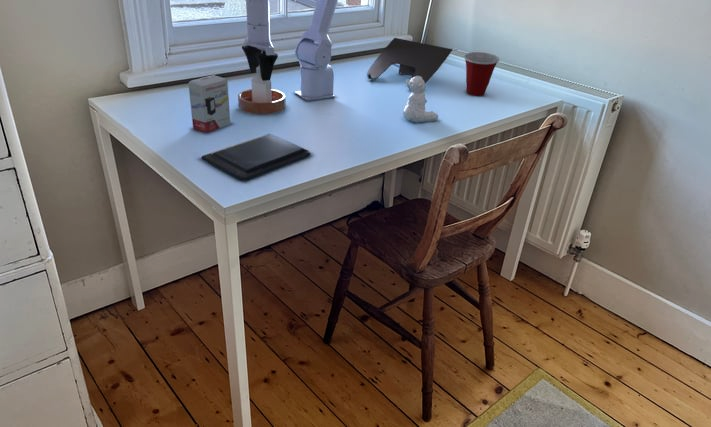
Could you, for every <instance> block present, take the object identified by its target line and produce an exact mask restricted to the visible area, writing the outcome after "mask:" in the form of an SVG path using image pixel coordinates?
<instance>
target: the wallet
mask: <svg viewBox="0 0 711 427" xmlns="http://www.w3.org/2000/svg"><path fill="white" fill-rule="evenodd" d="M310 156H311V152H310V150H309V149H307V148H304V147H302V146H300V145H297V144H295V143H292V142H290V141H288V140H285V139H283V138H281V137H278V136H277V135H274V134H271V133H268V134H265V135H262V136H261V135H260V136H258V137H255V138H251V139H249V140H245V141H243V142H239V143H237V144H234V145H230V146H227V147H224V148H221V149H218V150H214V151H212V152H210V153H206V154H203V155H201V160H203V161H204V162H206V163H208V164H209V165H211V166H212V167H215V168H216V169H219V171H222V172H223V173H226V174H228V175H229V176H231V177H233V178H234V179H237V180H239V181H244V182H247V181H251V180H252V179H255V178H258V177H260V176H262V175H265V174H267V173H270V172H273V171H275V170H277V169H279V168H282V167H285V166H288V165H291V164H293V163H295V162H299V161H301V160H304V159H306V158H308V157H310Z"/></svg>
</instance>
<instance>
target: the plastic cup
mask: <svg viewBox="0 0 711 427" xmlns="http://www.w3.org/2000/svg"><path fill="white" fill-rule="evenodd" d="M463 57H464V61H465V66H466V67H465V73H466V74H465V83H466V85H465V86H466V87H465V88H466V94H467V95H469V96H473V97H482V96H485V93H487V92H486V91H487V88H488V86H489V84H490V81H491V78H492V76H493V73H494V71H495V68H496V66H497V64H498V63H499V61H500V57H499V56H497V55H494V54H492V53H489V52H481V51H471V52H468V53H465V54H464V56H463Z"/></svg>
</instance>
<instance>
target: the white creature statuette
mask: <svg viewBox="0 0 711 427" xmlns="http://www.w3.org/2000/svg"><path fill="white" fill-rule="evenodd" d="M410 79H411V78H410ZM410 79H409V78H406V80H405V81H406V82H405V83H406V85H407V88H408V87H409V88H410V89H411V91H410V92H411V94H409V96H408V98H407V100H408V101H407V102H406V104H405V106H404V109H403V118H404V119H405V120H406V121H408V122H410V123H425V122H436V121H437V120H438V119H439V114H438V113H436V112H434V111H433V110H431V111H427V109H426V104H427V102H428V100H427V99H426V94H425V91H426V87H427V85H426V83H425V82H424V80H423V79H422V77H421V76H416V77H413V78H412V79H411V80H410ZM408 85H409V86H408ZM409 88H408V89H409Z"/></svg>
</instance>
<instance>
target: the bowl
mask: <svg viewBox="0 0 711 427" xmlns="http://www.w3.org/2000/svg"><path fill="white" fill-rule="evenodd" d="M271 90H272V102H262V103H259V102H252V88H250V89H246V90H243V91H240V92H239V93H238V94H237V104H238V109H239V110H240V111H242V112H244V113H248V114H252V115H271V114H276V113H280V112H282V111H284V110H285V109H286V107H287V106H286V104H287V102H286V98H287V96H286V95H285V93H284V92H282V91H280V90H278V89H272V88H271Z"/></svg>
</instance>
